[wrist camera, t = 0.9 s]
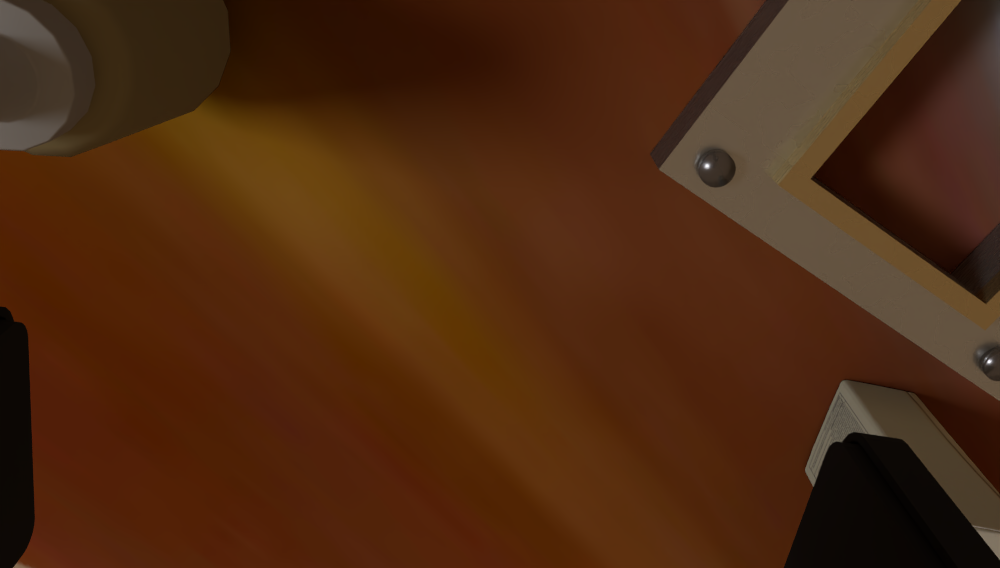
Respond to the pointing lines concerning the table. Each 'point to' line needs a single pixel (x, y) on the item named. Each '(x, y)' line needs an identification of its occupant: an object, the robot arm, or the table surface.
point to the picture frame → (807, 145)
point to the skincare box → (912, 447)
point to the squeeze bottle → (103, 68)
